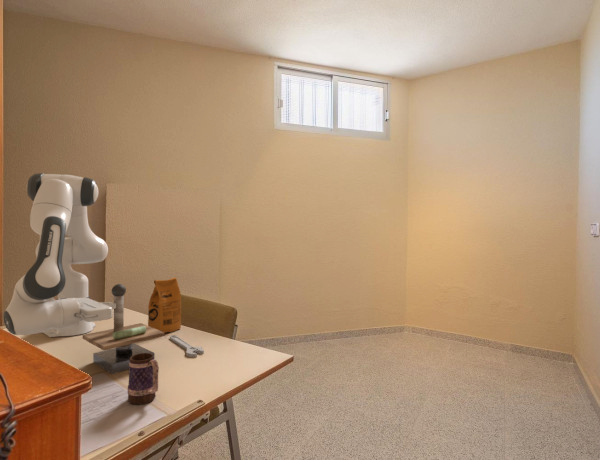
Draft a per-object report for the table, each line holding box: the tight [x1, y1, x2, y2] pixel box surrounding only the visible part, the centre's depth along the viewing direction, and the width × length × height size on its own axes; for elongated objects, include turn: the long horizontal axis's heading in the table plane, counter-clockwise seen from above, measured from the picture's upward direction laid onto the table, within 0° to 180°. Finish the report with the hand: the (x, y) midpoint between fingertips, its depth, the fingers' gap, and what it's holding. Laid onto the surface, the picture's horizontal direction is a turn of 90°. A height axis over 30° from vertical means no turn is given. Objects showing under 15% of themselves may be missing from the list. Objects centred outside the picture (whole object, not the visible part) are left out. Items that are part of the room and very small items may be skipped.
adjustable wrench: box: [169, 334, 205, 358], centre depth 149 cm, size 25×6×2 cm, turn 34°
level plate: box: [82, 283, 165, 351], centre depth 131 cm, size 16×20×17 cm
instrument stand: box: [92, 343, 155, 375], centre depth 132 cm, size 14×14×8 cm
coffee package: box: [147, 277, 182, 334], centre depth 167 cm, size 10×12×22 cm
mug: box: [127, 353, 160, 406], centre depth 105 cm, size 10×7×12 cm
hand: (114, 305), depth 133 cm, fingers closed, pressing on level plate
